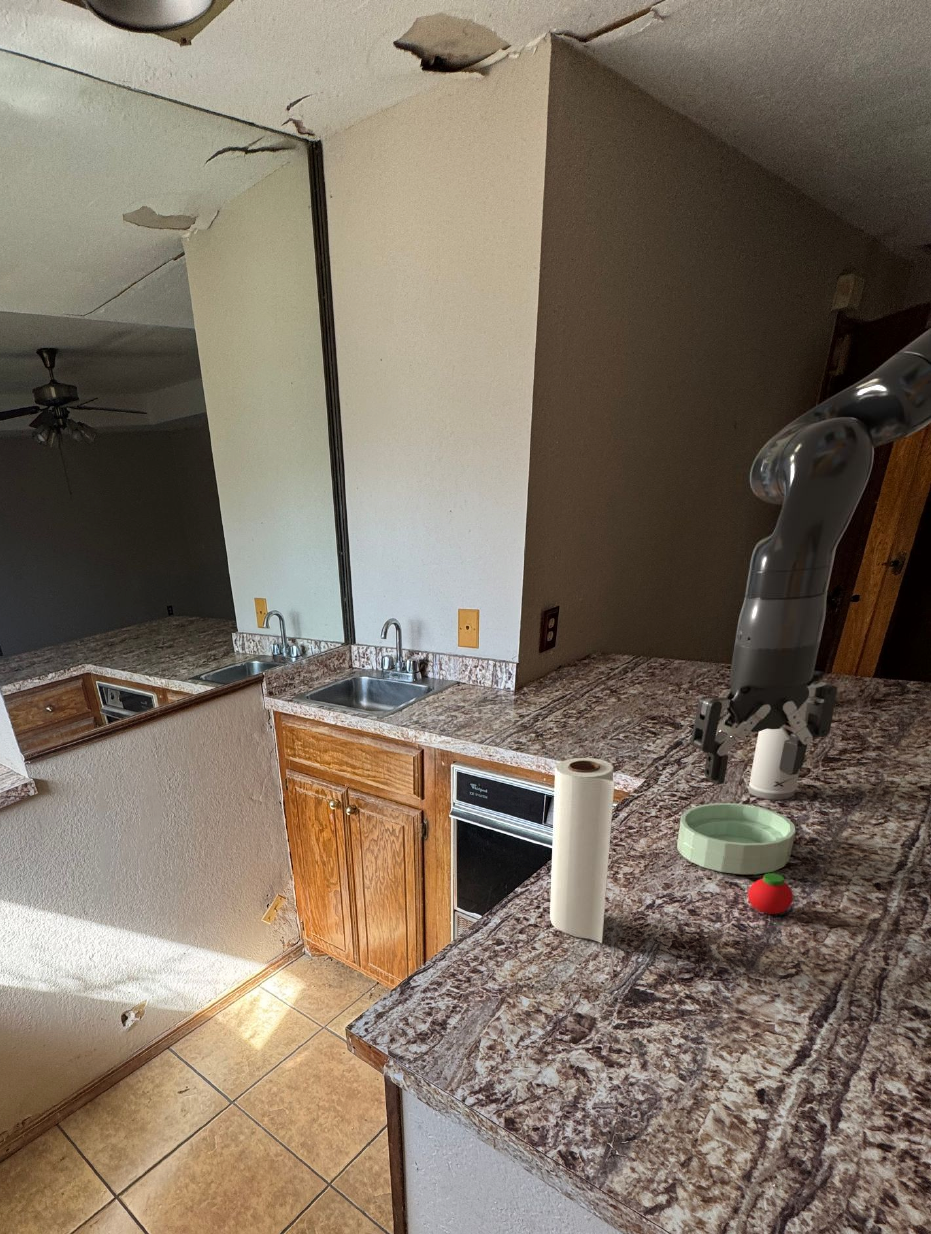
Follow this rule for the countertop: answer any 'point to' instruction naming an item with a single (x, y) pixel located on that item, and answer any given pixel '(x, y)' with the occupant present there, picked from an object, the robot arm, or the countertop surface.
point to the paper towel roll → (581, 846)
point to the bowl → (736, 838)
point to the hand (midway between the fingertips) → (751, 777)
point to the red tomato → (770, 894)
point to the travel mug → (774, 761)
